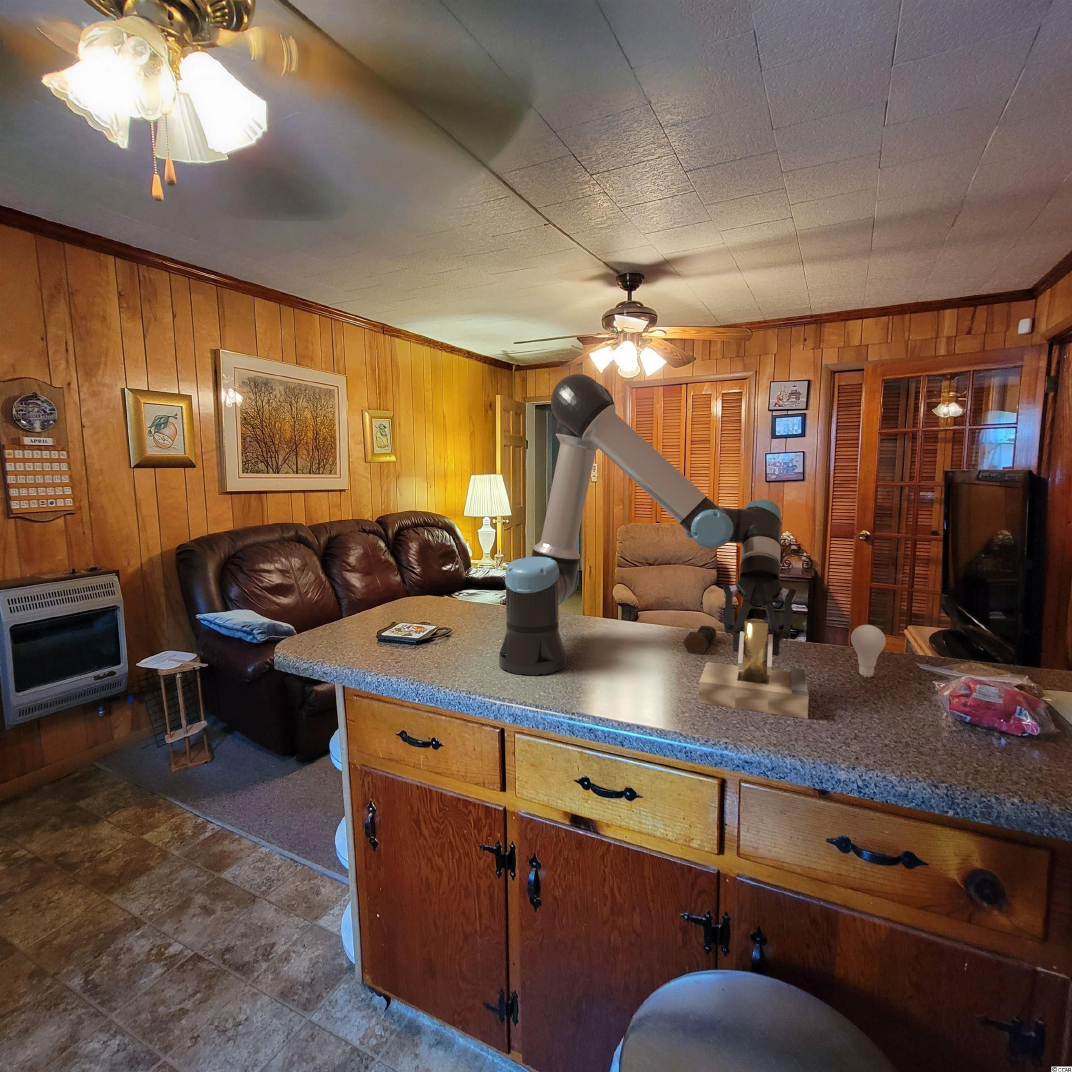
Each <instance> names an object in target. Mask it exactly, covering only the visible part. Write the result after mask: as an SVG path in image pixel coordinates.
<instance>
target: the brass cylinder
mask: <svg viewBox="0 0 1072 1072" xmlns="http://www.w3.org/2000/svg"><path fill="white" fill-rule="evenodd" d="M743 632H744V658H743V679H744V680H745V681H747V682H753V683H766V682H767V674H768V673H767V657H768V635H769V634H770V626H769V621H768V620H765V619H762V618H761V619H760V618H748V619H746V620H745V621H744V628H743Z"/></svg>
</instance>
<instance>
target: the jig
mask: <svg viewBox="0 0 1072 1072" xmlns="http://www.w3.org/2000/svg"><path fill="white" fill-rule="evenodd" d="M805 671H806V670H805V669H802V668H795V667H794V668H793V667H790V671H783V670H777V669H772V674H769V673H768V674H767V682H766V683H753V682H747V681H745V680H744V679H743V670H738V665H734V664H726V663H718V662H717V663H716V662H710V661H707V662H706V664H705V666H704V669H703V671H702V674H701V676H700V678H699V682H698V704H704V705H712V706H719V707H726V708H733V709H737V710H739V709H740V710H745V711H751V712H759V713H765V714H773V715H777V716H778V715H779V716H785V717H792V718H799V719H805V720H806V719H807V720H808V718H809V691H808V681H807V674H806V672H805Z"/></svg>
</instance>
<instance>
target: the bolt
mask: <svg viewBox="0 0 1072 1072" xmlns="http://www.w3.org/2000/svg"><path fill="white" fill-rule="evenodd" d="M715 639H717V630H716V628H715V627H714V626H710V625H701V626H700V627H699V628H698V630H697V631H690V632H689V633H688V634H687V636H686V637H685V638H684V640H683V641H682V642H683V645H684V647H685V649H686V651H687V653H689V654H691V655H692V654H693V655H700V656H701V655H703V654H704V653H705V651H706V649H708V647H709V645H711V644H712V643H714V640H715Z"/></svg>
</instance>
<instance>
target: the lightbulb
mask: <svg viewBox="0 0 1072 1072" xmlns="http://www.w3.org/2000/svg"><path fill="white" fill-rule="evenodd" d="M850 641H851V644H852V646H853V649H854V650H855V652H856V656H857V663H858V665H859V666H858V669H859V670H858V672H859V674H860V675H861V676H862V677H863V676H864V677H863V678H866V677H869V678H870V677H873V676H874V674H875V667H876V666H877V661H878V658H879V655H880V654H881V653H882V652H883V650H884V648H885V646H886V643H887V642H886V636H885V634H884V632H883V631H882V630H881V629H880V628H878V627H877V626H874V625H871V624H862V625H859V626H857V627H855V628H854V630H853V631H852V633H851V635H850Z"/></svg>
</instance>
